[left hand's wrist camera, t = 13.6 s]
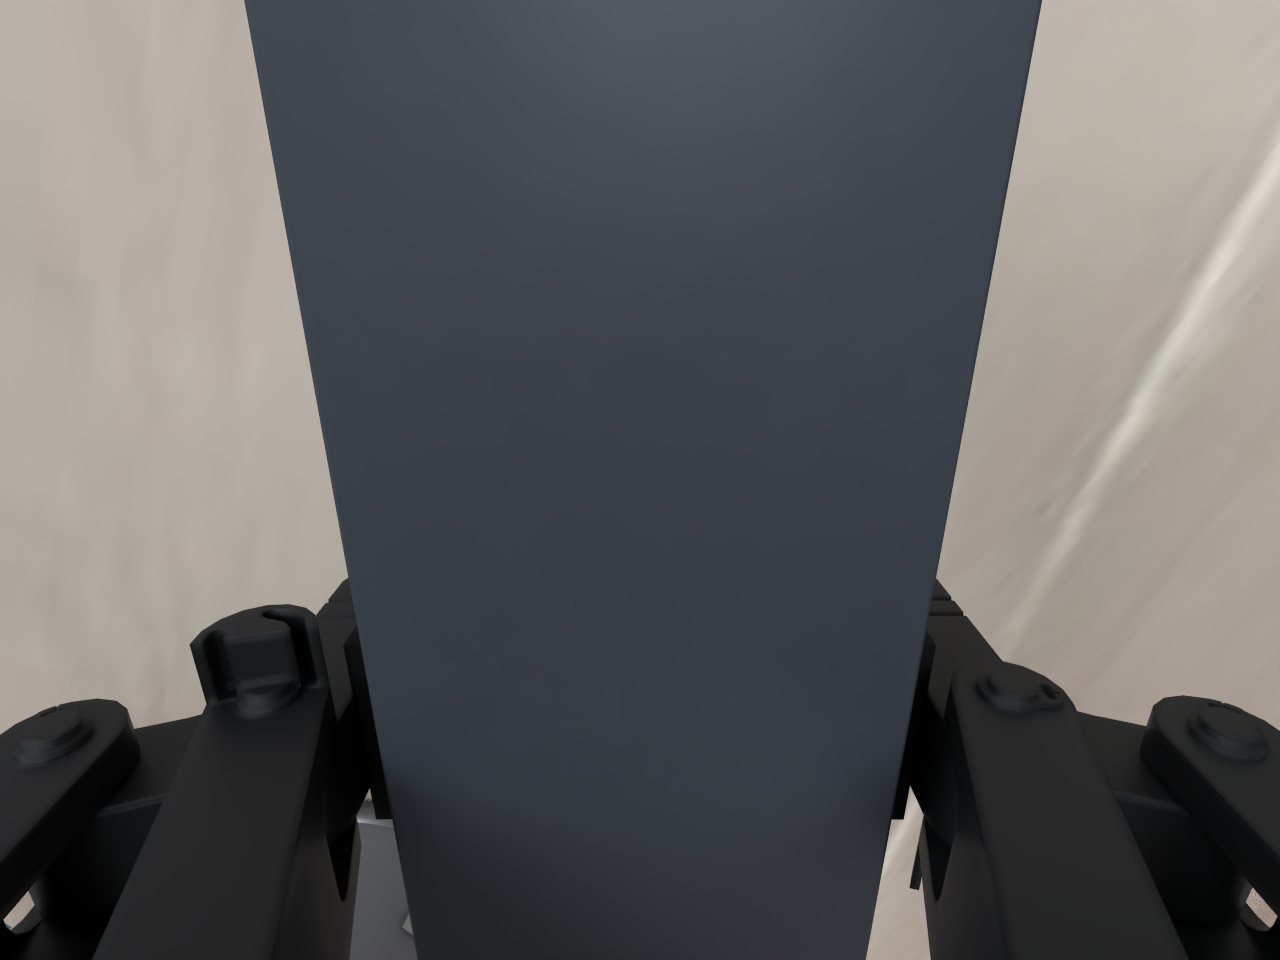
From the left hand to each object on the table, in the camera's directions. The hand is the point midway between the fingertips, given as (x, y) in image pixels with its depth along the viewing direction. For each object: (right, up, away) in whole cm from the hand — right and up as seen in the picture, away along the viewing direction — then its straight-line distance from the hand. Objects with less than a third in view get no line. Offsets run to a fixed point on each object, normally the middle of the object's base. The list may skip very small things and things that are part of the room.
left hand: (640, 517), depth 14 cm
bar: (0, +7, -2) cm, 8 cm away
